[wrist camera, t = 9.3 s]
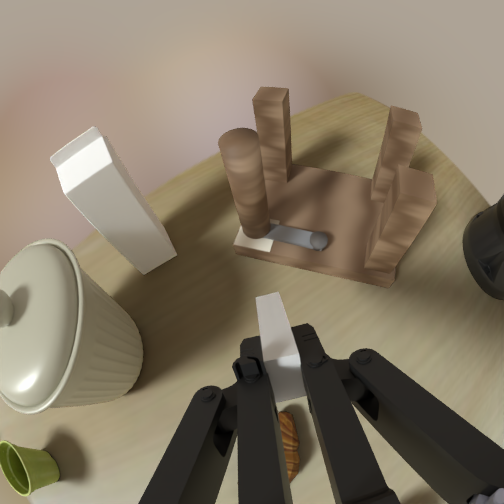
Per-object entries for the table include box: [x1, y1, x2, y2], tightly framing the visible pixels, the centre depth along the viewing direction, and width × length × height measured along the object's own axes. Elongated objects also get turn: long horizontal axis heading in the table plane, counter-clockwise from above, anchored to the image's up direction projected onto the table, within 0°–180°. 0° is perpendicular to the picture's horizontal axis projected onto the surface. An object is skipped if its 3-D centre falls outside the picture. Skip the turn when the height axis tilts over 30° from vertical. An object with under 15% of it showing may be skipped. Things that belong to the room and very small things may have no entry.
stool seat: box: [233, 87, 437, 288], centre depth 31 cm, size 21×16×16 cm
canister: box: [0, 239, 144, 414], centre depth 23 cm, size 18×18×21 cm
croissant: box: [278, 412, 300, 483], centre depth 22 cm, size 14×7×5 cm, turn 162°
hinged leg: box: [218, 128, 328, 251], centre depth 28 cm, size 11×4×15 cm, turn 71°
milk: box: [50, 126, 177, 275], centre depth 30 cm, size 6×6×22 cm
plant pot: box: [0, 440, 60, 496], centre depth 19 cm, size 9×9×9 cm
